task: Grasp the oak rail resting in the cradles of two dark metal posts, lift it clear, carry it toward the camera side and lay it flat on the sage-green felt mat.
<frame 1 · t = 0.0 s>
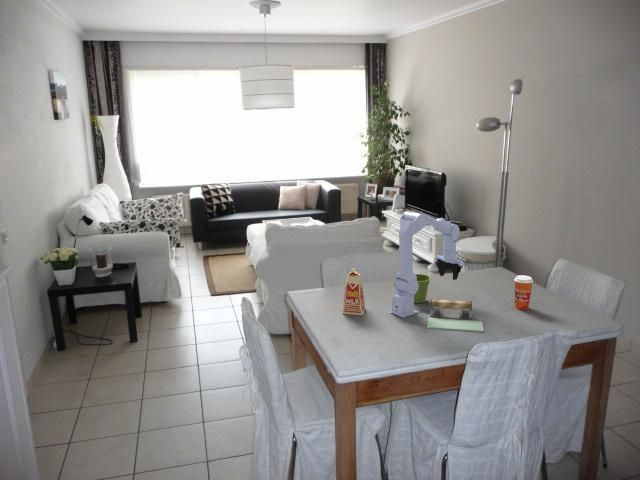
hand: (448, 277, 246), 10 cm above the table, fingers open, 7 cm apart
mat: (454, 325, 217), on the table
rail: (450, 307, 226), point 4 cm above the table, touching standards
standards: (450, 315, 227), on the table
plant pot: (417, 300, 246), on the table
milk carton: (353, 311, 235), on the table
paper cup: (521, 308, 234), on the table
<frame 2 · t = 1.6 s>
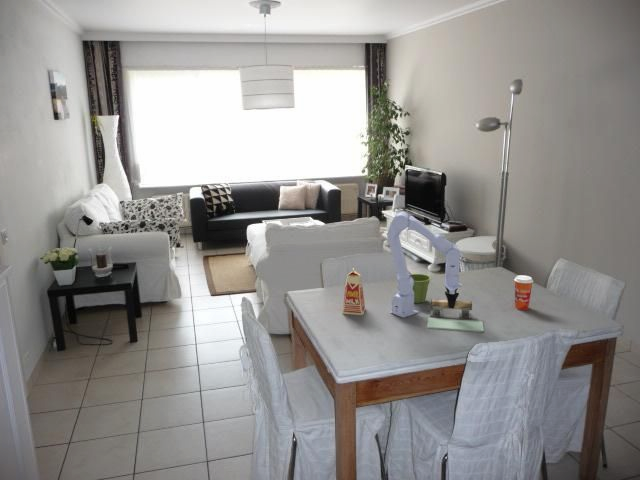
hand: (451, 304, 226), 5 cm above the table, fingers open, 7 cm apart
nothing on the table moved.
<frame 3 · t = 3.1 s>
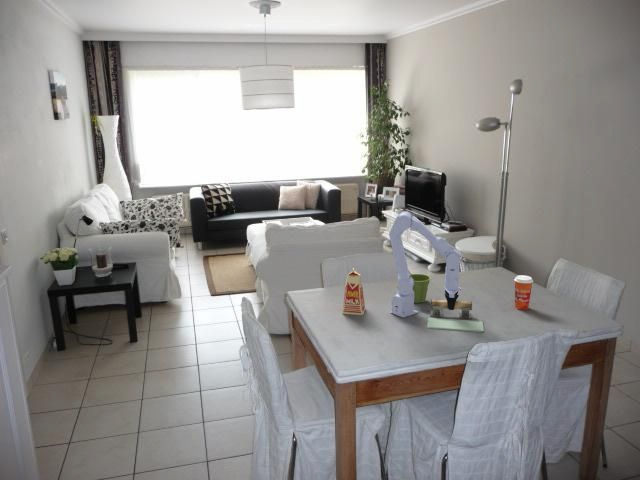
hand: (450, 308, 226), 3 cm above the table, fingers closed on rail, 3 cm apart
rail: (450, 307, 226), point 4 cm above the table, touching gripper, standards
everything else where it was.
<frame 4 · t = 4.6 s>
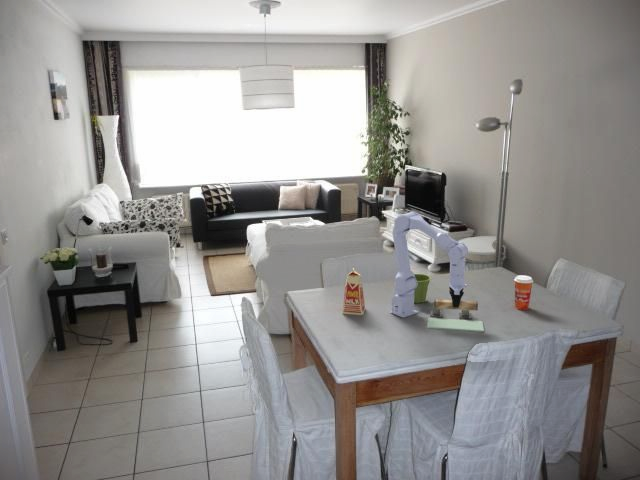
hand: (455, 305, 215), 8 cm above the table, fingers closed on rail, 3 cm apart
rail: (455, 308, 215), point 7 cm above the table, touching gripper
everything else where it was.
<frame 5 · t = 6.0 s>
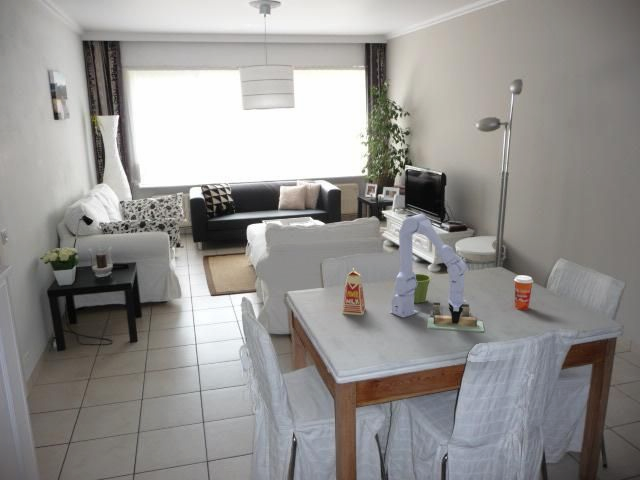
hand: (455, 321, 216), 2 cm above the table, fingers closed on rail, 3 cm apart
rail: (454, 324, 217), point 1 cm above the table, touching gripper, mat
everything else where it was.
when the fingers open (2 cm above the table, at t = 6.6 s): rail stays where it is, resting on mat.
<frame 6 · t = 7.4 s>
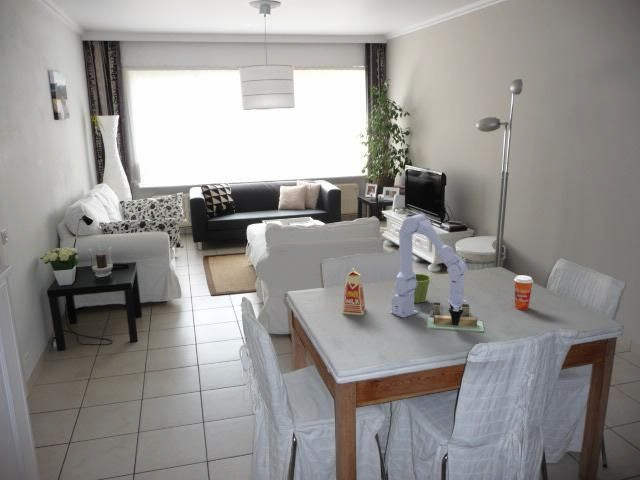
hand: (455, 321, 216), 2 cm above the table, fingers open, 7 cm apart
rail: (454, 324, 217), point 1 cm above the table, touching mat
everything else where it was.
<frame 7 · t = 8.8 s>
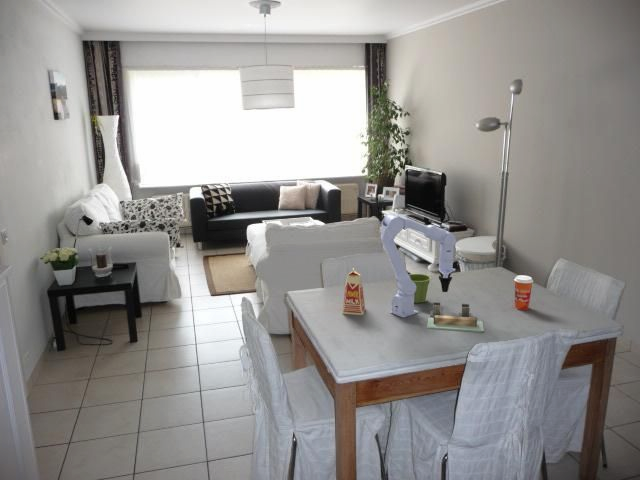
hand: (444, 288, 232), 9 cm above the table, fingers open, 7 cm apart
nothing on the table moved.
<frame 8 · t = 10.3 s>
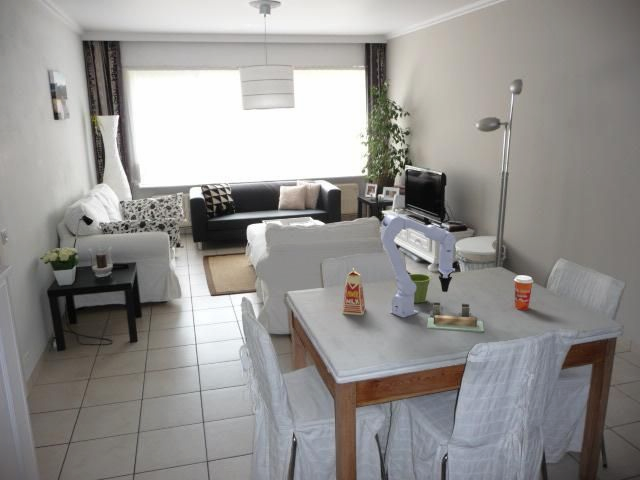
hand: (444, 288, 233), 9 cm above the table, fingers open, 7 cm apart
nothing on the table moved.
at the end: rail inside the target area on the mat (0.0 cm from its centre), point 0.6 cm above the mat's base; rail touching mat; the gripper is holding nothing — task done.
